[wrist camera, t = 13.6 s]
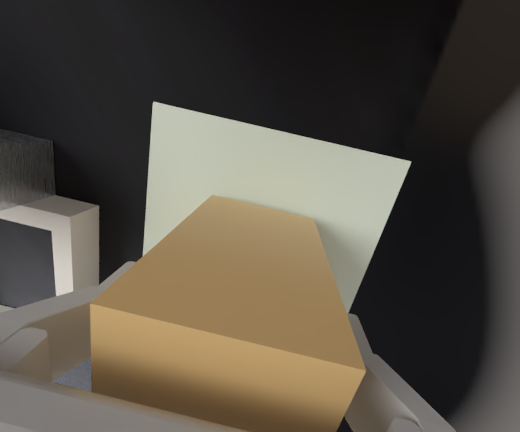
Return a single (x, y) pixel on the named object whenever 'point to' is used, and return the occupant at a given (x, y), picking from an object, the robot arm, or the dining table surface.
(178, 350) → the tan rectangular block
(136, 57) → the dining table surface
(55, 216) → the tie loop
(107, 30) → the dining table surface
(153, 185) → the pad
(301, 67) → the dining table surface
